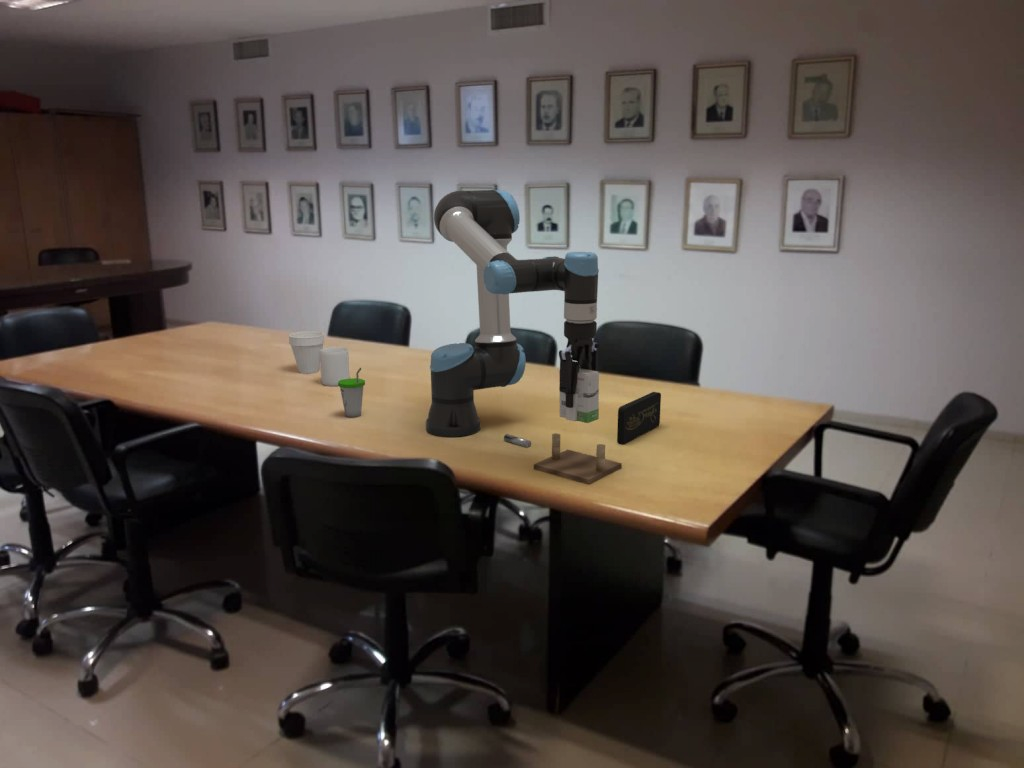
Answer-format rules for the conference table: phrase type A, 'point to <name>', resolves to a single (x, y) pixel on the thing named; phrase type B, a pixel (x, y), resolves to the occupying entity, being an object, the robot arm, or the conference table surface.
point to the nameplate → (638, 417)
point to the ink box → (584, 396)
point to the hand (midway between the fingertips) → (578, 417)
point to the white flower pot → (307, 350)
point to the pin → (517, 440)
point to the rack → (577, 463)
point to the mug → (334, 365)
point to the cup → (352, 395)
